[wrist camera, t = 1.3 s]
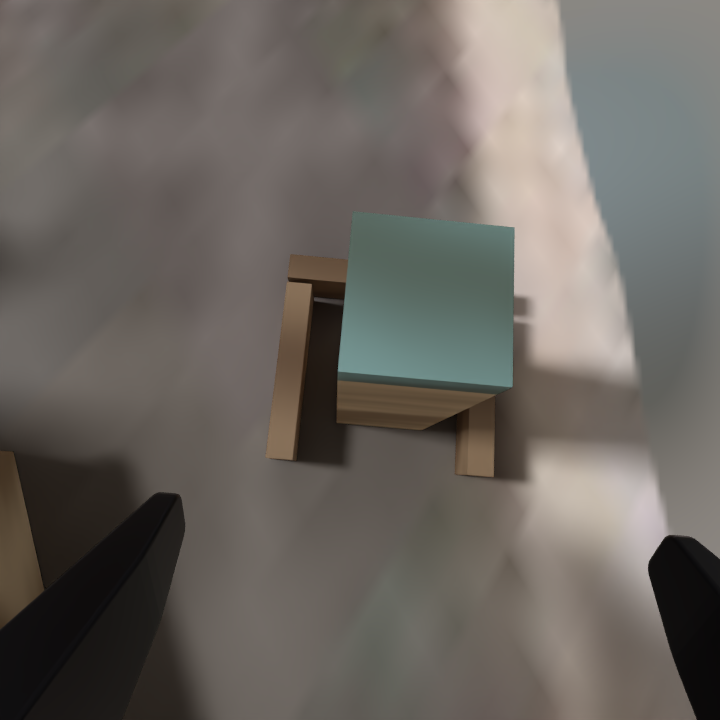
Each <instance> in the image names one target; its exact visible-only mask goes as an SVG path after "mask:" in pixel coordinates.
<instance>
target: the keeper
mask: <svg viewBox="0 0 720 720" xmlns="http://www.w3.org/2000/svg"><path fill="white" fill-rule="evenodd" d="M347 268H348V260H345V259H334V258H324V257H314V256H303V255H293V254H290V262H289V270H288V280H289V282H287V286H286V295H285V303H284V311H283V319H282V327H281V335H280V343H279V352H278V360H277V368H276V376H275V384H274V392H273V400H272V409H271V417H270V425H269V433H268V441H267V449H266V457H265V458H270V459H279V460H291V461H297V451H298V442H299V433H300V424H301V415H302V405H303V396H304V387H305V378H306V369H307V360H308V350H309V341H310V332H311V323H312V314H313V304H314V298H313V296H315V297H325V298H336V299H345V289H346V279H347ZM494 435H495V396H493V397H491V398H489V399H487V400H484V401H482V402H480V403H478V404H476V405H474V406H472V407H470V408H468V409H465V410H463V411H461V412H459V413H457V430H456V457H455V474H456V475H468V476H481V477H494Z"/></svg>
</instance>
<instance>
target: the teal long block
mask: <svg viewBox="0 0 720 720" xmlns="http://www.w3.org/2000/svg"><path fill="white" fill-rule="evenodd" d="M513 308H514V227H504V226H494V225H484V224H474V223H464V222H454V221H444V220H434V219H424V218H414V217H404V216H394V215H384V214H374V213H364V212H354V211H353V215H352V225H351V236H350V247H349V257H348V268H347V279H346V289H345V300H344V310H343V321H342V332H341V342H340V353H339V364H338V382H337V423H342V424H354V425H365V426H377V427H388V428H400V429H411V430H423V429H425V428H427V427H429V426H431V425H434V424H436V423H438V422H440V421H442V420H444V419H446V418H448V417H451V416H453V415H455V414H457V413H459V412H461V411H463V410H465V409H468V408H470V407H472V406H474V405H476V404H478V403H480V402H482V401H484V400H487V399H489V398H491V397H493V396H495V395H497V394H499V393H501V392H504V391H506V390H508V389H510V388H512V387H513Z"/></svg>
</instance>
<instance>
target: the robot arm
mask: <svg viewBox="0 0 720 720" xmlns="http://www.w3.org/2000/svg"><path fill="white" fill-rule="evenodd" d="M184 532H185V519H184V512H183V506H182V499H181V497H180V495H179V494H176V493H164V492H159V493H156V494H154V495H153V496H152V497H150V498H149V499H148V500H147V501H146V502H145V503H144V504H142V505H141V506H140V507H139V508H138V509H137V510H136V511H134V512H133V513H132V514H131V515H130V516H129V517H128V518H126V519H125V520H124V521H123V522H122V523H121V524H120V525H118V526H117V527H116V528H115V529H114V530H113V531H112V532H110V533H109V534H108V535H107V536H106V537H105V538H104V539H102V540H101V541H100V542H99V543H98V544H97V545H96V546H94V547H93V548H92V549H91V550H90V551H89V552H88V553H86V554H85V555H84V556H83V557H82V558H81V559H80V560H79V561H77V562H76V563H75V564H74V565H73V566H72V567H71V568H69V569H68V570H67V571H66V572H65V573H64V574H63V575H61V576H60V577H59V578H58V579H57V580H56V581H55V582H53V583H52V584H51V585H50V586H49V587H48V588H47V589H45V590H44V591H43V592H42V593H41V594H40V595H39V596H37V597H36V598H35V599H34V600H33V601H32V602H31V603H29V604H28V605H27V606H26V607H25V608H24V609H23V610H21V611H20V612H19V613H18V614H17V615H16V616H15V617H13V618H12V619H11V620H10V621H9V622H8V623H7V624H5V625H4V626H3V627H2V628H1V629H0V720H122V718H123V716H124V713H125V711H126V708H127V706H128V703H129V700H130V698H131V695H132V693H133V690H134V688H135V685H136V683H137V680H138V677H139V675H140V672H141V670H142V667H143V665H144V662H145V660H146V657H147V654H148V652H149V649H150V647H151V644H152V642H153V639H154V637H155V634H156V631H157V629H158V626H159V623H160V620H161V617H162V614H163V610H164V607H165V603H166V600H167V596H168V592H169V589H170V585H171V581H172V578H173V574H174V570H175V567H176V563H177V559H178V556H179V552H180V548H181V545H182V541H183V537H184ZM648 572H649V577H650V580H651V584H652V587H653V591H654V594H655V598H656V601H657V605H658V608H659V612H660V615H661V619H662V622H663V626H664V629H665V633H666V636H667V640H668V643H669V646H670V650H671V653H672V656H673V659H674V662H675V664H676V667H677V670H678V673H679V675H680V678H681V680H682V683H683V685H684V688H685V691H686V693H687V696H688V698H689V701H690V703H691V706H692V708H693V711H694V714H695V716H696V719H697V720H720V559H719V558H718V557H717V556H715V555H714V554H713V553H712V552H710V551H709V550H708V549H707V548H706V547H704V546H703V545H702V544H700V543H699V542H698V541H697V540H695V539H694V538H692V537H689V536H680V535H668V536H666V537H665V538H664V539H663V541H662V542H661V544H660V545H659V547H658V548H657V550H656V551H655V553H654V554H653V556H652V557H651V559H650V561H649V564H648Z"/></svg>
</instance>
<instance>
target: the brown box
mask: <svg viewBox="0 0 720 720" xmlns="http://www.w3.org/2000/svg"><path fill="white" fill-rule="evenodd" d="M43 591H44V587H43V582H42V578H41V573H40V569H39V564H38V560H37V555H36V551H35V546H34V542H33V537H32V533H31V528H30V524H29V519H28V515H27V510H26V506H25V501H24V497H23V492H22V488H21V484H20V479H19V475H18V470H17V466H16V461H15V457H14V452H11V451H0V629H1V628H2V627H3V626H4V625H5V624H7V623H8V622H9V621H10V620H11V619H12V618H13V617H15V616H16V615H17V614H18V613H19V612H20V611H21V610H23V609H24V608H25V607H26V606H27V605H28V604H29V603H31V602H32V601H33V600H34V599H35V598H36V597H37V596H39V595H40V594H41V593H42V592H43Z"/></svg>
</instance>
